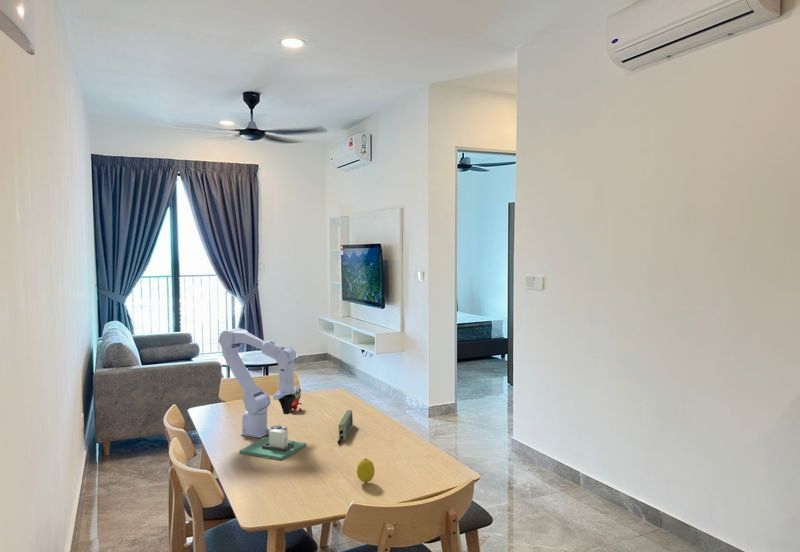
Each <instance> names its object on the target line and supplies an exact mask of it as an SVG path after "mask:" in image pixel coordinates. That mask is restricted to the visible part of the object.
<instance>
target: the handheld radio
mask: <svg viewBox="0 0 800 552" xmlns="http://www.w3.org/2000/svg"><path fill="white" fill-rule="evenodd" d="M353 425H354V420H353V410H352V409H347V410H346V411H345V413H344V414H343V416H342V418H341V420H340V421H339V423H338V440H337V444H338V445H340V444H341V443H342V441H345V440H346V439H347V437H348V435H349V433H350V431H351V429H352V427H353Z"/></svg>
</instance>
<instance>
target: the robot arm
mask: <svg viewBox="0 0 800 552" xmlns="http://www.w3.org/2000/svg"><path fill="white" fill-rule="evenodd" d="M218 343H219V345H220V347H221V352H222V357H223V358H224V360H225V362H226V363H227V366H228V367H229V369H230V370H231V373H232V374H233V376H234V377H235V380H236V382H237V383H238V384H239V386H240V388H241V390H242V392H243V397H242V401H243V403H244V409H245V411H244V412H243V414H242V418H241V429H242V430H241V433H240V435H241V436H247V437H254V438H261V439H262V438H264V437H266V436H267V435H268V433H267V428H268V407H269V406H270V405H271V398H270V396H269V394H267V393H266V392H265V391H264V390H263V388H262V387H260V386H257V384H256V382H255V381H254V378H253V377H252V376H251V374H250V372H249V370H248V369H247V367H246V365H245V363H244V361H243V360H242V358H241V356H240V354H239V351H240V348H241V347H242V346H243V344H247V345H249V346H252V347H255V348H257V349H259V350H261V353H262V354H263V355H265V356H268V357H269V358H271V359H273V360H275V361H276V363H277V365H278V391H276V392H275V393H274V394H273V396H272V398H273V400H274V401H278V402H279V403H280V406H281V409H282V413H283V415H289V414H291V411H292V410H291V406H292V403H293V400H294V399H295V395H292V394H294V393H296V392H298V391H299V389H300V387H299V386H294V385H295V383H294V379H295V378H294V373H295V372H294V370H295V369H294V364H295V363H294V361H296V359H297V352H296V351H295V350H294V349H293V348H292V347H285V345H280V344H278V343H276V342H275V340H272V339H271V340H267V341H265V340H263V339H261V338H259V337H257V336H255V335H254V334H253V333H251V332H249V331H248V330H247V329H243V328H242V327H236V328H233V329H227V330H226V329H225V330H222V331H221V332H220V334H219V338H218Z"/></svg>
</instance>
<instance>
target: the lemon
mask: <svg viewBox="0 0 800 552" xmlns="http://www.w3.org/2000/svg"><path fill="white" fill-rule="evenodd" d="M356 469H357V470H356V474H357V478H358V480H360V481H361V482H362V483H364V484H368V483H369V482H370V481H372V479H373V478H374V476H375V465H374V463H373V461H372V460H370V459H369V458H366V457H365V458H364V459H362V460H360V461H359V462H358V464H357V468H356Z"/></svg>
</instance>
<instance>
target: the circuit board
mask: <svg viewBox="0 0 800 552" xmlns="http://www.w3.org/2000/svg"><path fill="white" fill-rule="evenodd" d="M306 446H307V443H306V442H302V441H295V440H288V447H286V448H278V447H272V446H269V436H264V437H262V438H261V439H259V440H256V441H255V442H253V443H251V444H250V445H248V446H246V447H242V448H241V449H239V454H242V453H243V455H248V454H249V456H254V455H255V456H254V457H260V458H261V457H262V458H266V457H267V458H268V459H271V458H272V459H273V460H279V461H283V460H284V459H286V458H287V457H289V456H291V455H292V454H294V453H296V452H297V451H299V450H301V449H303V448H304V447H306ZM267 458H266V459H267ZM272 459H271V460H272Z"/></svg>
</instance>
